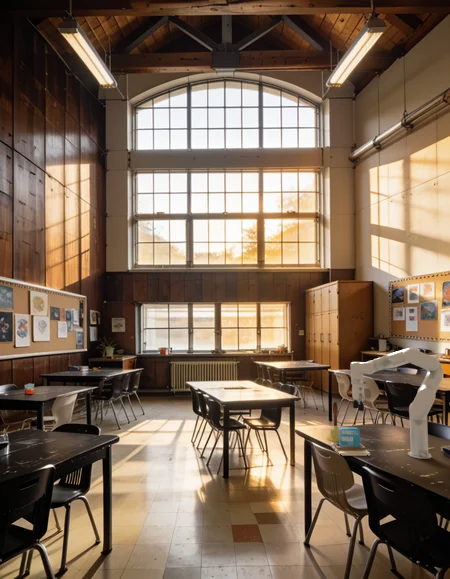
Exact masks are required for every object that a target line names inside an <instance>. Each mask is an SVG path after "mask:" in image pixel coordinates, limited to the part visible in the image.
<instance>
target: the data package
mask: <svg viewBox="0 0 450 579" xmlns="http://www.w3.org/2000/svg"><path fill="white" fill-rule="evenodd" d="M338 428H339V442H338V443H339V446H340V447H360V444H361V431H360V430H361V429H359V428H358V427H356V426H354V427H353V426H351V427H348V426H345V427H344V426H343V427H342V426H340V427H338Z"/></svg>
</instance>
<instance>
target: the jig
mask: <svg viewBox="0 0 450 579" xmlns="http://www.w3.org/2000/svg"><path fill="white" fill-rule="evenodd" d="M329 446H330V447H331V448H332V450H334V451H335V453H337V454H338V453H339V454H341V455H342V457H343V456H348V457H349V456H351V457H352V456H355V457H356V456H360V457H361V456H365V457H366V456H367V455H368V456H371V452H369V451H368V450H367V449H366V447H365V445H363V444H362V443H360V447H340V446H339V442H335V443H333V442H331V443H330V444H329ZM339 454H338V455H339Z"/></svg>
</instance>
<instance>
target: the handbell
mask: <svg viewBox="0 0 450 579" xmlns="http://www.w3.org/2000/svg"><path fill="white" fill-rule="evenodd" d="M338 412H339V409H338V402H337V401H333V403H332V413H333V427H331V428H330V434H329V435H328V436H327V437H326V440H327V441H329V442H332V443H333V442H335V443H339V428H340V427H338Z"/></svg>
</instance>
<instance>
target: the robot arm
mask: <svg viewBox="0 0 450 579" xmlns="http://www.w3.org/2000/svg"><path fill="white" fill-rule="evenodd" d="M438 359H439V358H437V357H436V356H434V355H429V354H427V353H424V352H422V351H419V350H417V349H416V348H415V347H407V348H404V349H401V350H398V351H395V352H392V353H389V354H385V355H383V356H381V357H378V358H374V359H373V360H368V361H366V362H361V361H352V362H350V366H349V367H350V384H351V385H352V387H351V394H352V395H351V396H352V408H353V409H358V411H359V412H364V411H365V399H366V397H365V396H366V395H365V388H364V375H372V374H374V373H375V372H379V371H382V370H386V369H393V368H396V367H400V366H403V365H406V364H412V365H415V366H416V367H419V368H421V369H424V370H426V375H425V377H424V379H423V381H422V382H421V384H420V387H419V388H418V389H417V393H416V396H415V397H414V400H412V402H411V403H410V404H409V407H408V413H409V439H410V442H409V443H410V445H409V446H410V451H408V452H407V455H408V456H409V457H411V458H414V459H415V458H416V459H421V460H425V459H431V458H432V454H431V453H429V436H428V414H429V412H430V410H431V408H432V407H433V404H434V402H435V399H436V393H437V391H438V390H439V389H438V388H439V387H440V384H441V383H442V380H443V375H444V368H443V366H442V364H441V362H440V361H439V360H438Z"/></svg>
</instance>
